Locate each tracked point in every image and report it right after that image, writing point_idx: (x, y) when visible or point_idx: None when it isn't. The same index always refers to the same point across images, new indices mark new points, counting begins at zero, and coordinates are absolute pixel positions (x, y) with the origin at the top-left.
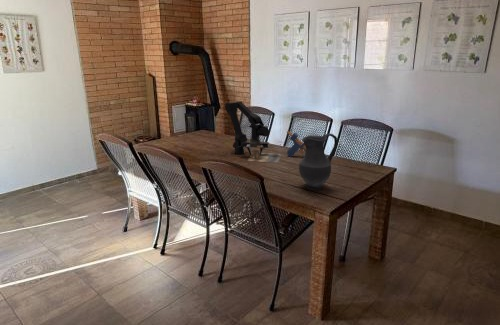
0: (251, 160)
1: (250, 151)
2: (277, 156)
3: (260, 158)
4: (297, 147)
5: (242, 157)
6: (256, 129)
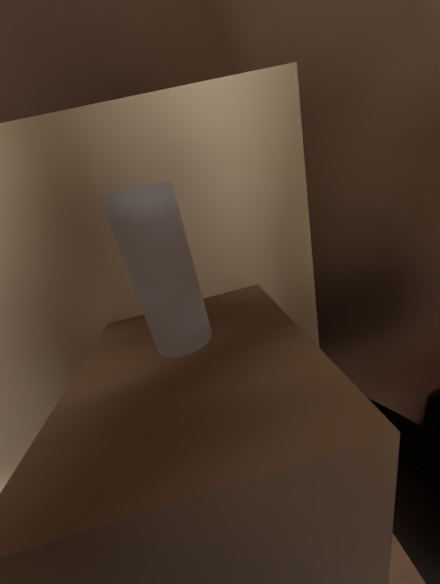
0: (190, 137)
1: (418, 498)
2: None
3: None
4: None
5: (426, 362)
6: None
